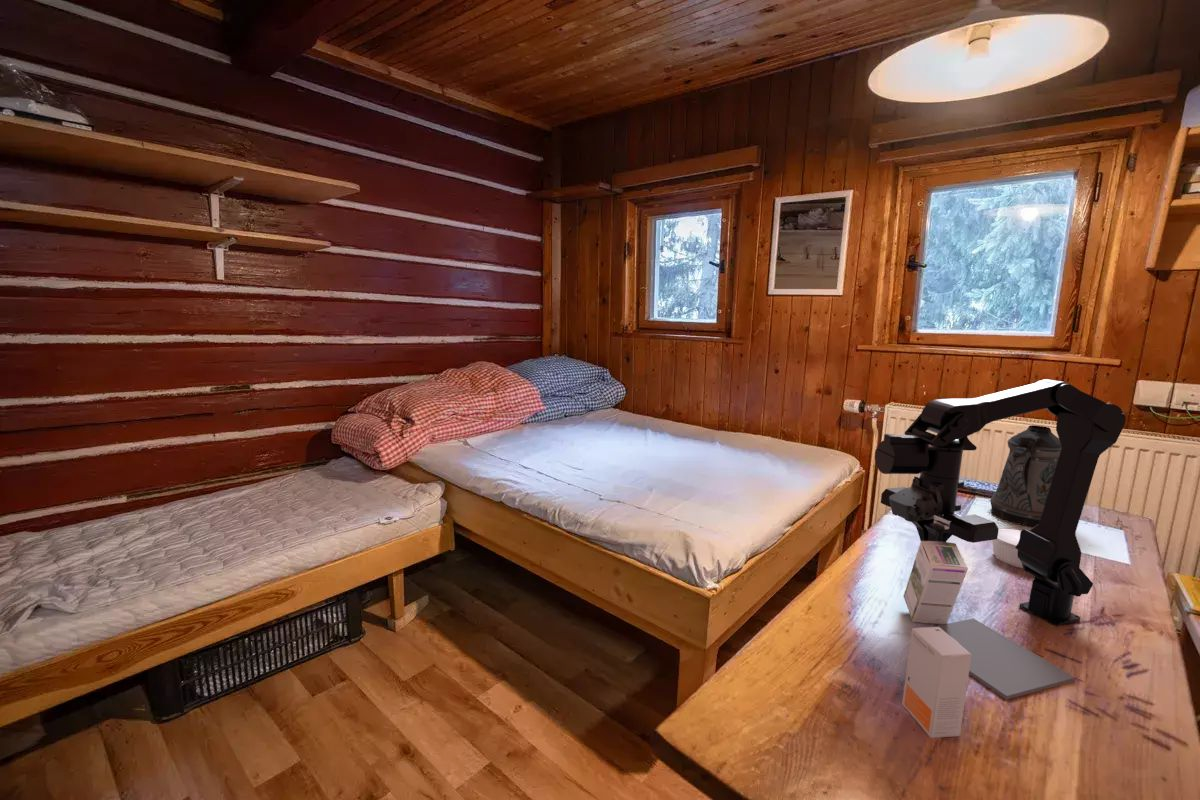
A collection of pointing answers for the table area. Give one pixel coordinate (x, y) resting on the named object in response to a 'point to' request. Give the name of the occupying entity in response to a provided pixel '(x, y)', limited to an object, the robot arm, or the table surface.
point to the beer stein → (1027, 476)
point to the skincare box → (936, 681)
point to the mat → (1004, 661)
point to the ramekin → (1007, 547)
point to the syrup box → (935, 582)
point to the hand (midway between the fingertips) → (928, 557)
